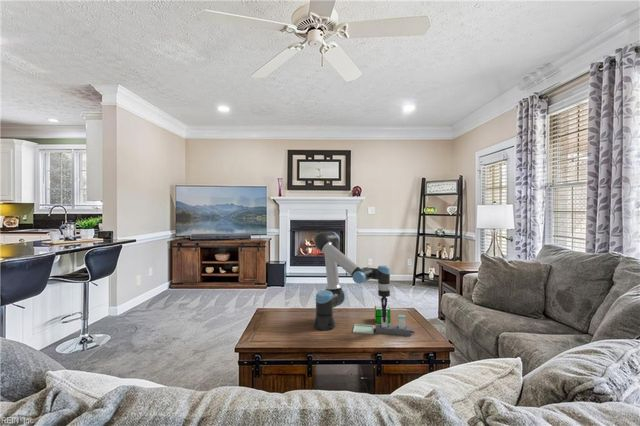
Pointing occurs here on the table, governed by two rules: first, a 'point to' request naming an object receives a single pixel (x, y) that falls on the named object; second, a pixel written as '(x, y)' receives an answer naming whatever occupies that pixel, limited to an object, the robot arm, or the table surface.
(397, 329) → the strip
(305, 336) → the table surface
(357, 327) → the tray
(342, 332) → the table surface
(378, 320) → the puzzle cube
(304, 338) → the table surface
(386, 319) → the plug
